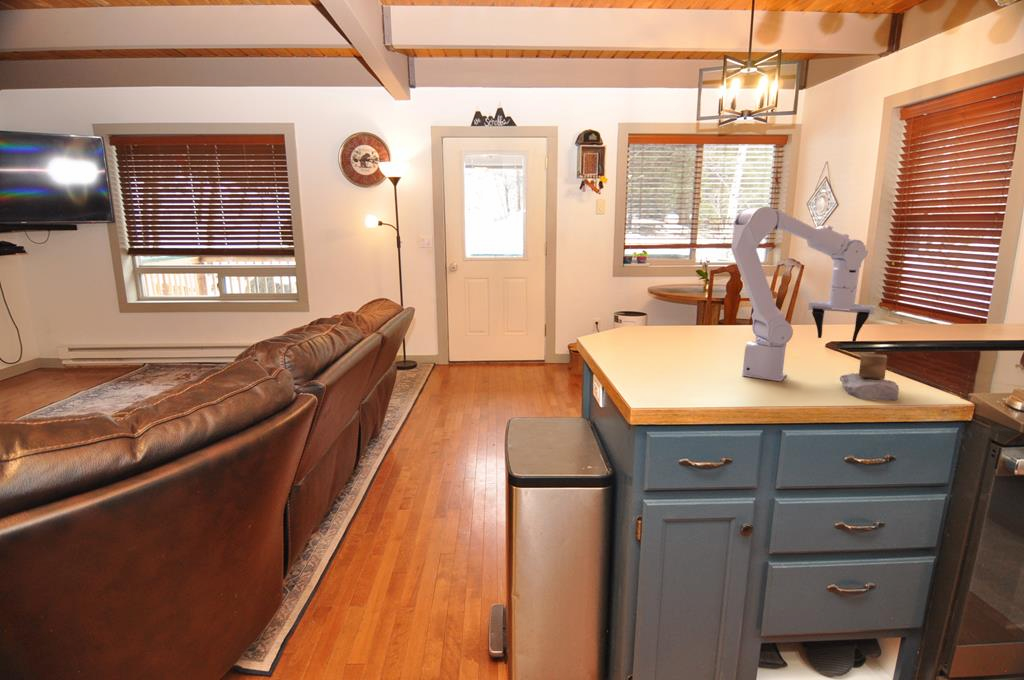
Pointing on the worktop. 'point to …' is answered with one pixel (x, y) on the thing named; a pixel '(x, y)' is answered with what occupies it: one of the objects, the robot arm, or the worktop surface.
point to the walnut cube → (873, 365)
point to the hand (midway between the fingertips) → (836, 339)
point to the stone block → (870, 387)
